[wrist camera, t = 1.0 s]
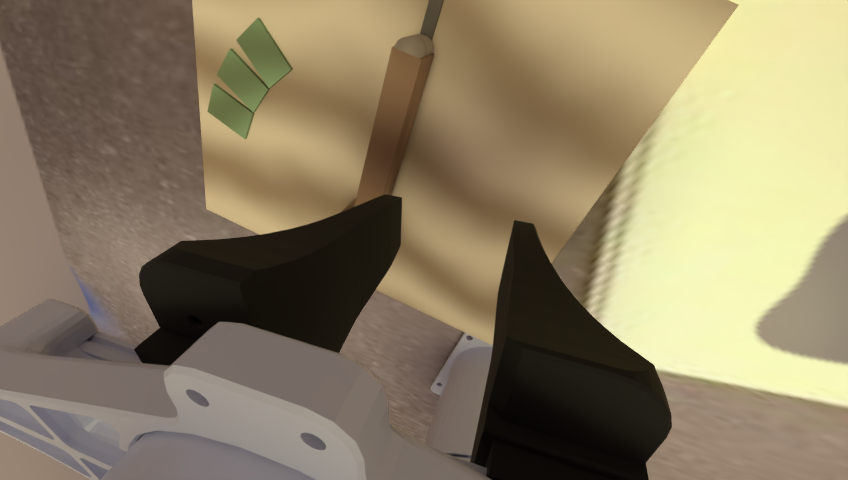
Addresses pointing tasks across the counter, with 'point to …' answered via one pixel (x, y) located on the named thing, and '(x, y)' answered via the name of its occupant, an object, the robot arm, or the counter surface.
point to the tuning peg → (395, 116)
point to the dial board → (438, 120)
